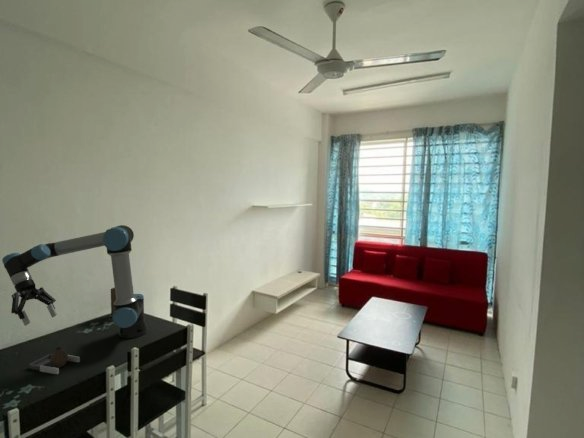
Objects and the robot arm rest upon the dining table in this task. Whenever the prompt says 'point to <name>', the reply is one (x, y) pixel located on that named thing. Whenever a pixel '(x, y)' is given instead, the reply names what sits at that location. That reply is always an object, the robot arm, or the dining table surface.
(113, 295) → the block
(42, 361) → the grey flat frame
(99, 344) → the dining table surface
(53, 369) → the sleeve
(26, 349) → the dining table surface
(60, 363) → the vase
